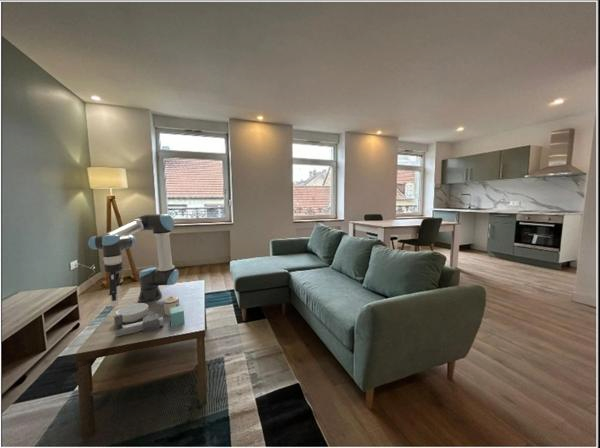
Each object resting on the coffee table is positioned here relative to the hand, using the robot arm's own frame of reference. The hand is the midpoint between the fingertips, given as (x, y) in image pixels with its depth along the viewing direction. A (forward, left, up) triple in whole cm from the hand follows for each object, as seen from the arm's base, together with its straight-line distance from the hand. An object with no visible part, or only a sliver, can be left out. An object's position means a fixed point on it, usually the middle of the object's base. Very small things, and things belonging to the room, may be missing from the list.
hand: (116, 301), depth 131 cm
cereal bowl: (-19, +5, -20) cm, 28 cm away
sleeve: (0, +15, -20) cm, 25 cm away
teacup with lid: (-17, +27, -20) cm, 38 cm away
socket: (0, +29, -20) cm, 35 cm away
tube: (0, +10, -19) cm, 21 cm away
